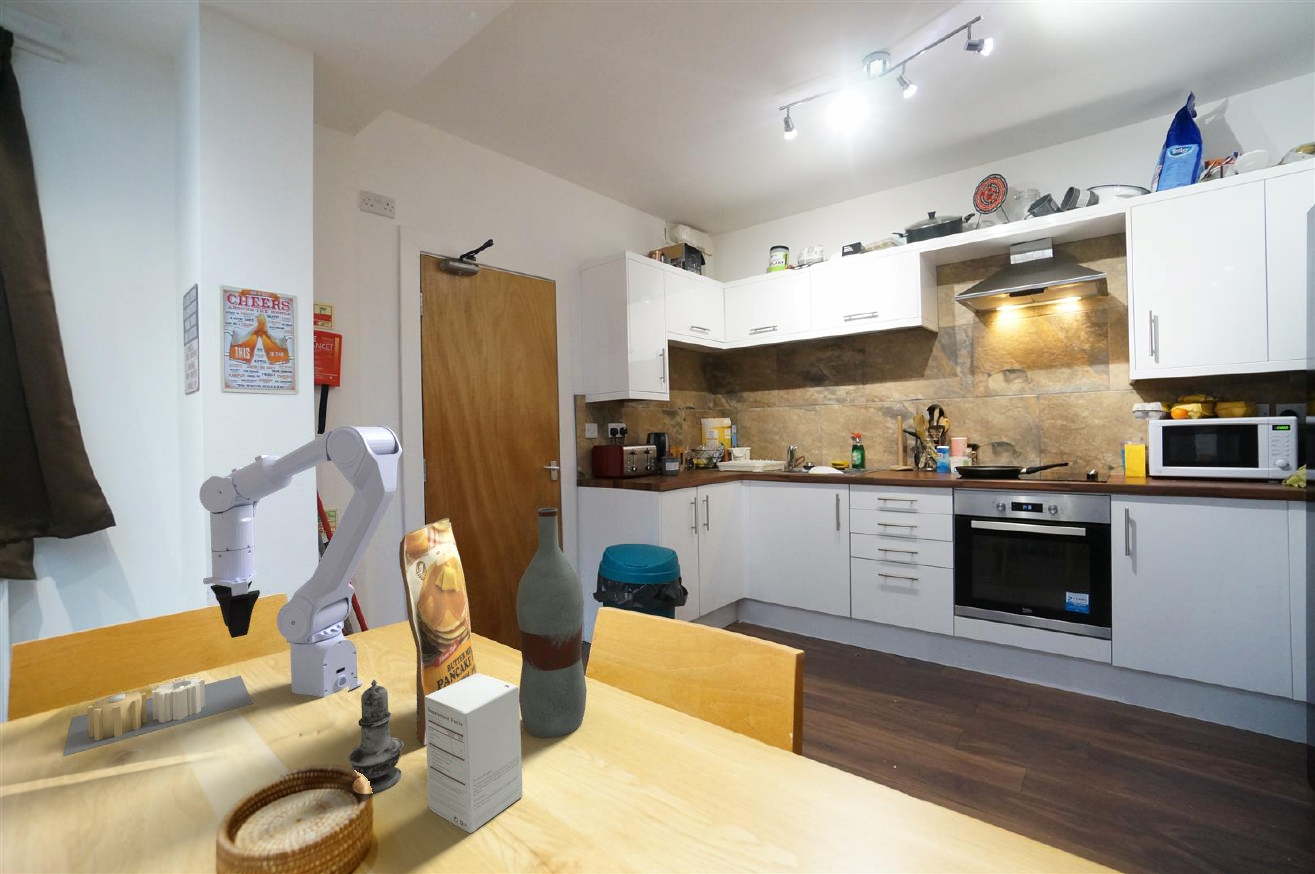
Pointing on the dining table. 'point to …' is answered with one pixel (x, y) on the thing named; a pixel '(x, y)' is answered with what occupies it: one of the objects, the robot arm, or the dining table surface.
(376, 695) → the dark grey tall piece
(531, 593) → the bottle
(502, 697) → the supplement box
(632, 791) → the dining table surface
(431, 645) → the pancake mix bag
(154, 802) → the dining table surface
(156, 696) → the gear
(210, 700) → the gear board
